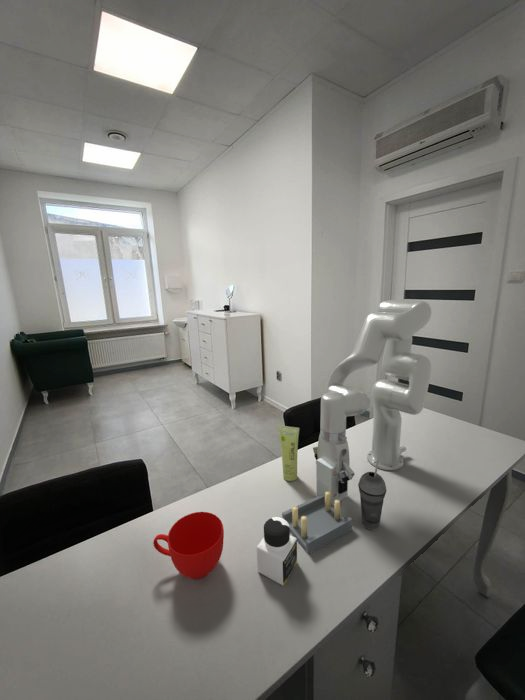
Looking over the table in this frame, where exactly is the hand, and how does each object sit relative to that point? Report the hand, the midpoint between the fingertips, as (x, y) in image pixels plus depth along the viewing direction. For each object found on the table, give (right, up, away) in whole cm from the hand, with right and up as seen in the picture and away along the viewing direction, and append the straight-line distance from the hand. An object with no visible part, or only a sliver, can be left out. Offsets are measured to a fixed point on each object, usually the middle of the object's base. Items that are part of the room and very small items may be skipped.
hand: (331, 483), depth 94 cm
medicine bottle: (-18, -10, -22) cm, 31 cm away
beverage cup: (+9, -7, -10) cm, 15 cm away
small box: (0, -5, +1) cm, 5 cm away
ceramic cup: (-39, -11, -21) cm, 46 cm away
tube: (-12, -3, +11) cm, 17 cm away
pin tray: (-7, -7, -11) cm, 14 cm away
